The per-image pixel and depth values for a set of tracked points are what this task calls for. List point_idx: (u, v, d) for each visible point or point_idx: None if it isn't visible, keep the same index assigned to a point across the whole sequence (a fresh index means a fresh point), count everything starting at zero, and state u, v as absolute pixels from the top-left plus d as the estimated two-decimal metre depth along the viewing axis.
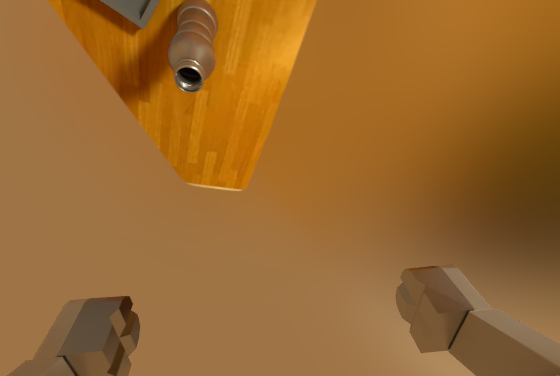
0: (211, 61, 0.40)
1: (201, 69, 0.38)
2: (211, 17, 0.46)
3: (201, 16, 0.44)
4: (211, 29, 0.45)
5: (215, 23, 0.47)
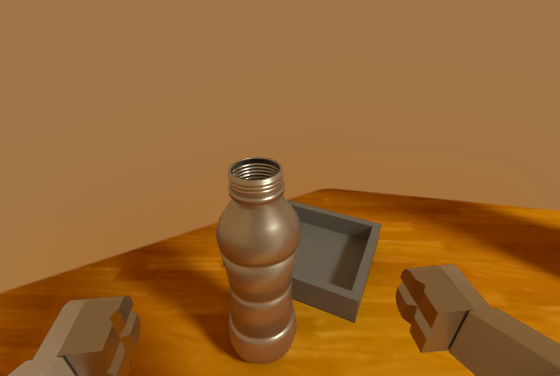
0: (269, 238, 0.20)
1: (272, 191, 0.20)
2: (284, 332, 0.27)
3: (291, 302, 0.27)
4: (277, 313, 0.25)
5: (274, 341, 0.26)
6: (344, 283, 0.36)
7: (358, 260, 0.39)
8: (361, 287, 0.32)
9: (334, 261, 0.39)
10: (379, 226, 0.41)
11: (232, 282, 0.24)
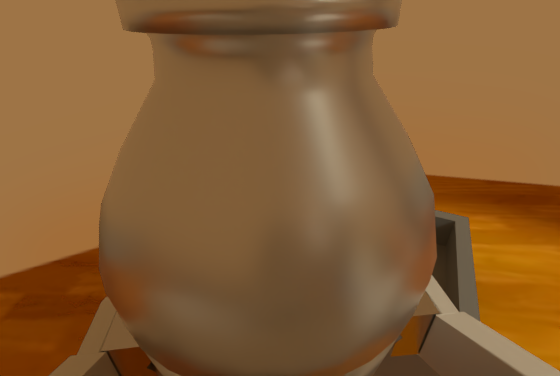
0: (338, 250, 0.04)
1: None
2: None
3: None
4: None
5: None
6: None
7: (437, 280, 0.23)
8: None
9: None
10: (466, 221, 0.24)
11: None
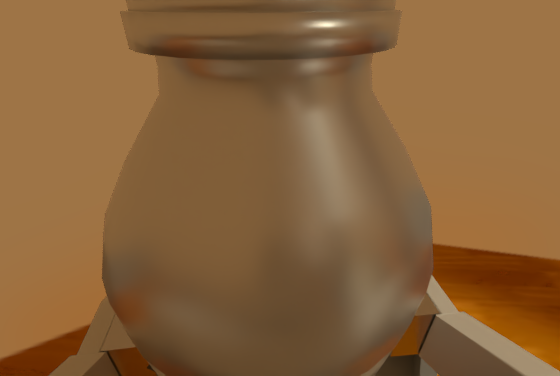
0: (338, 265, 0.04)
1: None
2: None
3: None
4: None
5: None
6: None
7: None
8: None
9: None
10: None
11: None
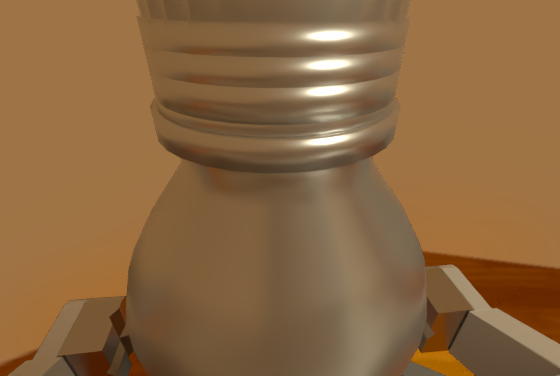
0: (342, 336, 0.04)
1: (373, 99, 0.04)
2: None
3: None
4: None
5: None
6: None
7: None
8: None
9: None
10: None
11: None
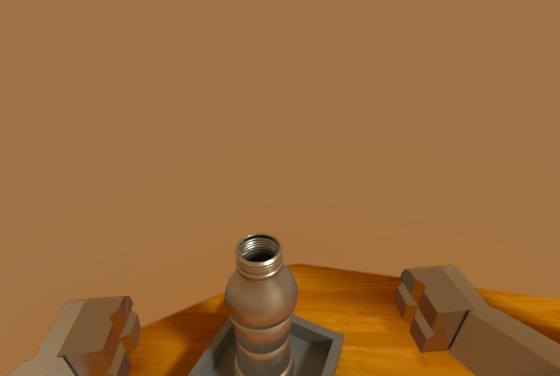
0: (270, 306, 0.24)
1: (273, 269, 0.23)
2: (283, 374, 0.30)
3: (289, 348, 0.31)
4: (277, 360, 0.29)
5: None
6: None
7: None
8: None
9: None
10: (341, 339, 0.36)
11: (238, 336, 0.27)
